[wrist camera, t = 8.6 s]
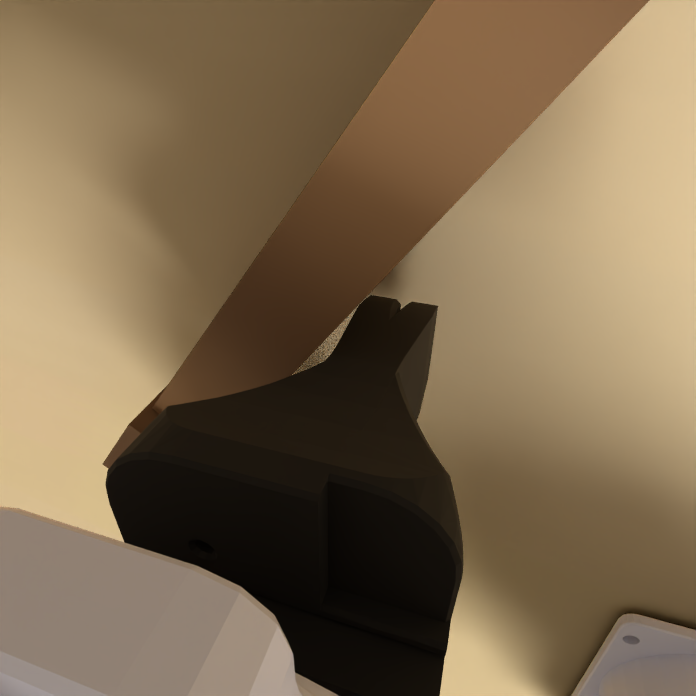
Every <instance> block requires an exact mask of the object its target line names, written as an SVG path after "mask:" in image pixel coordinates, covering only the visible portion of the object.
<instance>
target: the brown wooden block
mask: <svg viewBox="0 0 696 696" xmlns="http://www.w3.org/2000/svg"><path fill="white" fill-rule="evenodd" d="M648 1H649V0H435V1H434V2H433V3H432V5H431V6H430V8H429V9H428V11H427V12H426V14H425V15H424V16H423V18H422V19H421V21H420V22H419V24H418V25H417V27H416V28H415V29H414V31H413V32H412V34H411V35H410V37H409V38H408V40H407V41H406V42H405V44H404V45H403V47H402V48H401V50H400V51H399V53H398V54H397V55H396V57H395V58H394V60H393V61H392V63H391V64H390V66H389V67H388V68H387V70H386V71H385V73H384V74H383V76H382V77H381V78H380V80H379V81H378V83H377V84H376V86H375V87H374V89H373V90H372V91H371V93H370V94H369V96H368V97H367V99H366V100H365V102H364V103H363V104H362V106H361V107H360V109H359V110H358V112H357V113H356V115H355V116H354V117H353V119H352V120H351V122H350V123H349V125H348V126H347V128H346V129H345V130H344V132H343V133H342V135H341V136H340V138H339V139H338V141H337V142H336V143H335V145H334V146H333V148H332V149H331V151H330V152H329V153H328V155H327V156H326V158H325V159H324V161H323V162H322V164H321V165H320V166H319V168H318V169H317V171H316V172H315V174H314V175H313V177H312V178H311V179H310V181H309V182H308V184H307V185H306V187H305V188H304V190H303V191H302V192H301V194H300V195H299V197H298V198H297V200H296V201H295V203H294V204H293V205H292V207H291V208H290V210H289V211H288V213H287V214H286V216H285V217H284V218H283V220H282V221H281V223H280V224H279V226H278V227H277V229H276V230H275V231H274V233H273V234H272V236H271V237H270V239H269V240H268V241H267V243H266V244H265V246H264V247H263V249H262V250H261V252H260V253H259V254H258V256H257V257H256V259H255V260H254V262H253V263H252V265H251V266H250V267H249V269H248V270H247V272H246V273H245V275H244V276H243V278H242V279H241V280H240V282H239V283H238V285H237V286H236V288H235V289H234V291H233V292H232V293H231V295H230V296H229V298H228V299H227V301H226V302H225V304H224V305H223V306H222V308H221V309H220V311H219V312H218V314H217V315H216V316H215V318H214V319H213V321H212V322H211V324H210V325H209V327H208V328H207V329H206V331H205V332H204V334H203V335H202V337H201V338H200V340H199V341H198V342H197V344H196V345H195V347H194V348H193V350H192V351H191V353H190V354H189V355H188V357H187V358H186V360H185V361H184V363H183V364H182V366H181V367H180V368H179V370H178V371H177V373H176V374H175V376H174V377H173V379H172V380H171V381H170V383H169V384H168V385H167V386H166V387H165V388H164V389H163V390H162V391H161V392H160V393H159V394H158V395H157V397H156V398H155V399H154V400H153V401H152V402H151V403H150V404H149V405H148V406H147V407H146V408H145V409H144V410H143V411H142V412H141V413H140V414H139V415H138V416H137V417H136V418H135V419H134V420H133V421H132V422H131V423H130V424H129V425H128V426H127V428H126V430H125V431H124V433H123V434H122V436H121V437H120V439H119V440H118V442H117V443H116V445H115V446H114V448H113V449H112V451H111V452H110V454H109V455H108V457H107V458H106V460H105V461H104V463H103V465H104V466H106V467H107V468H110V467H111V466H112V464H113V463H114V462H115V460H116V459H117V458H118V457H119V456H120V455H121V454H122V453H123V452H124V451H125V450H126V449H127V447H128V446H129V445H130V444H131V443H132V442H133V441H134V440H135V439H136V438H137V437H138V436H139V435H140V434H141V433H142V431H143V430H144V429H145V428H146V427H147V426H148V425H149V424H150V423H151V422H152V421H153V420H154V419H155V418H156V417H157V416H158V415H159V414H160V413H161V412H162V411H163V410H164V409H165V408H166V407H167V406H171V405H178V404H183V403H189V402H195V401H200V400H206V399H211V398H217V397H221V396H226V395H230V394H234V393H238V392H242V391H246V390H250V389H253V388H257V387H260V386H263V385H267V384H270V383H273V382H276V381H278V380H281V379H284V378H286V377H289V376H291V375H292V374H293V373H294V372H295V371H296V370H297V369H298V368H299V366H300V365H301V364H302V363H303V362H304V361H305V360H306V359H307V358H308V357H309V356H310V355H311V354H312V353H313V352H314V351H315V350H316V349H317V348H318V347H319V346H320V344H321V343H322V342H323V341H324V340H325V339H326V338H327V337H328V336H329V335H330V334H331V333H332V332H333V331H334V330H335V329H336V328H337V327H338V326H339V325H340V324H341V323H342V321H343V320H344V319H345V318H346V317H347V316H348V315H349V314H350V313H351V312H352V311H353V310H354V309H355V308H356V307H357V306H358V305H359V304H360V303H361V302H362V301H363V299H364V298H365V297H366V296H367V295H368V294H369V293H370V292H371V291H372V290H373V289H374V288H375V287H376V286H377V285H378V284H379V283H380V282H381V281H382V280H383V279H384V277H385V276H386V275H387V274H388V273H389V272H390V271H391V270H392V269H393V268H394V267H395V266H396V265H397V264H398V263H399V262H400V261H401V260H402V259H403V258H404V257H405V255H406V254H407V253H408V252H409V251H410V250H411V249H412V248H413V247H414V246H415V245H416V244H417V243H418V242H419V241H420V240H421V239H422V238H423V237H424V236H425V235H426V234H427V232H428V231H429V230H430V229H431V228H432V227H433V226H434V225H435V224H436V223H437V222H438V221H439V220H440V219H441V218H442V217H443V216H444V215H445V214H446V213H447V212H448V210H449V209H450V208H451V207H452V206H453V205H454V204H455V203H456V202H457V201H458V200H459V199H460V198H461V197H462V196H463V195H464V194H465V193H466V192H467V191H468V190H469V188H470V187H471V186H472V185H473V184H474V183H475V182H476V181H477V180H478V179H479V178H480V177H481V176H482V175H483V174H484V173H485V172H486V171H487V170H488V169H489V168H490V167H491V165H492V164H493V163H494V162H495V161H496V160H497V159H498V158H499V157H500V156H501V155H502V154H503V153H504V152H505V151H506V150H507V149H508V148H509V147H510V146H511V145H512V143H513V142H514V141H515V140H516V139H517V138H518V137H519V136H520V135H521V134H522V133H523V132H524V131H525V130H526V129H527V128H528V127H529V126H530V125H531V124H532V123H533V121H534V120H535V119H536V118H537V117H538V116H539V115H540V114H541V113H542V112H543V111H544V110H545V109H546V108H547V107H548V106H549V105H550V104H551V103H552V102H553V101H554V99H555V98H556V97H557V96H558V95H559V94H560V93H561V92H562V91H563V90H564V89H565V88H566V87H567V86H568V85H569V84H570V83H571V82H572V81H573V80H574V79H575V78H576V76H577V75H578V74H579V73H580V72H581V71H582V70H583V69H584V68H585V67H586V66H587V65H588V64H589V63H590V62H591V61H592V60H593V59H594V58H595V57H596V56H597V54H598V53H599V52H600V51H601V50H602V49H603V48H604V47H605V46H606V45H607V44H608V43H609V42H610V41H611V40H612V39H613V38H614V37H615V36H616V35H617V34H618V32H619V31H620V30H621V29H622V28H623V27H624V26H625V25H626V24H627V23H628V22H629V21H630V20H631V19H632V18H633V17H634V16H635V15H636V14H637V13H638V12H639V10H640V9H641V8H642V7H643V6H644V5H645V4H646V3H647V2H648Z"/></svg>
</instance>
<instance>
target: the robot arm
mask: <svg viewBox="0 0 696 696" xmlns="http://www.w3.org/2000/svg"><path fill="white" fill-rule="evenodd" d="M400 307H401V304H400V303H399V302H398V301H397V299H391V298H385V297H379V296H372V295H371V296H369V297H368V298H366V299H365V300H364V301H363V302H362V303H361V304H360V305H359V306H358V308H357V310H356V311H355V313H354V315H353V317H352V319H351V320H350V322H349V324H348V326H347V328H346V330H345V332H344V333H343V335H342V337H341V339H340V341H339V343H338V345H337V346H336V348H335V349H334V351H333V352H332V354H331V355H330V356H329V357H328V358H327V359H326V361H324V362H322V363H320V364H318V365H316V366H314V367H312V368H309V369H307V370H305V371H302V372H300V373H297V374H294V375H292V376H289V377H286V378H284V379H281V380H278V381H276V382H273V383H270V384H267V385H263V386H260V387H257V388H253V389H250V390H246V391H242V392H238V393H234V394H230V395H226V396H221V397H217V398H211V399H206V400H200V401H195V402H189V403H183V404H178V405H171V406H167V407H166V408H165V409H164V410H163V411H162V412H161V413H160V414H159V415H158V416H157V417H156V418H155V419H154V420H153V421H152V422H151V423H150V424H149V425H148V426H147V427H146V428H145V429H144V430H143V431H142V433H141V434H140V435H139V436H138V437H137V438H136V439H135V440H134V441H133V442H132V443H131V444H130V445H129V446H128V447H127V449H126V450H125V451H124V452H123V453H122V454H121V455H120V456H119V457H118V458H117V459H116V460H115V462H114V463H113V464H112V466H111V467H110V468H109V469H108V472H107V478H106V490H107V494H108V498H109V503H110V506H111V508H112V511H113V514H114V516H115V519H116V521H117V524H118V527H119V529H120V532H121V534H122V537H123V540H124V542H125V543H124V542H121V541H118V540H115V539H112V538H109V537H106V536H102V535H99V534H96V533H93V532H90V531H87V530H84V529H81V528H78V527H74V526H71V525H68V524H65V523H62V522H59V521H56V520H53V519H50V518H46V517H43V516H40V515H37V514H34V513H31V512H28V511H25V510H21V509H17V508H9V507H0V696H439V695H440V688H441V680H442V672H443V665H444V657H445V655H446V651H447V645H448V638H449V630H450V622H451V617H452V613H453V609H454V606H455V602H456V598H457V594H458V590H459V587H460V583H461V579H462V573H463V543H462V534H461V527H460V521H459V515H458V510H457V505H456V501H455V496H454V492H453V488H452V483H451V479H450V476H449V474H448V473H447V471H446V470H445V469H444V467H443V466H442V464H441V463H440V462H439V460H438V459H437V457H436V455H435V454H434V452H433V451H432V449H431V448H430V446H429V444H428V442H427V441H426V439H425V437H424V435H423V434H422V432H421V430H420V427H419V425H418V423H417V418H418V415H419V413H420V409H421V404H422V400H423V396H424V392H425V388H426V384H427V380H428V374H429V367H430V359H431V352H432V345H433V338H434V331H435V324H436V316H437V309H438V306H435V305H429V304H422V303H416V302H411V303H409V304H408V305H406V306H405V307H404V308H402V309H401V310H400ZM571 696H696V630H694V629H690V628H687V627H683V626H679V625H675V624H672V623H668V622H664V621H661V620H657V619H653V618H650V617H646V616H642V615H639V614H633V613H632V614H624V615H622V616H621V617H619V618H618V620H617V622H616V623H615V625H614V626H613V628H612V630H611V631H610V633H609V635H608V636H607V638H606V639H605V641H604V643H603V644H602V646H601V648H600V649H599V651H598V653H597V654H596V656H595V657H594V659H593V661H592V662H591V664H590V666H589V667H588V669H587V671H586V672H585V674H584V675H583V677H582V679H581V680H580V682H579V684H578V685H577V687H576V688H575V690H574V692H573V693H572V695H571Z"/></svg>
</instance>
